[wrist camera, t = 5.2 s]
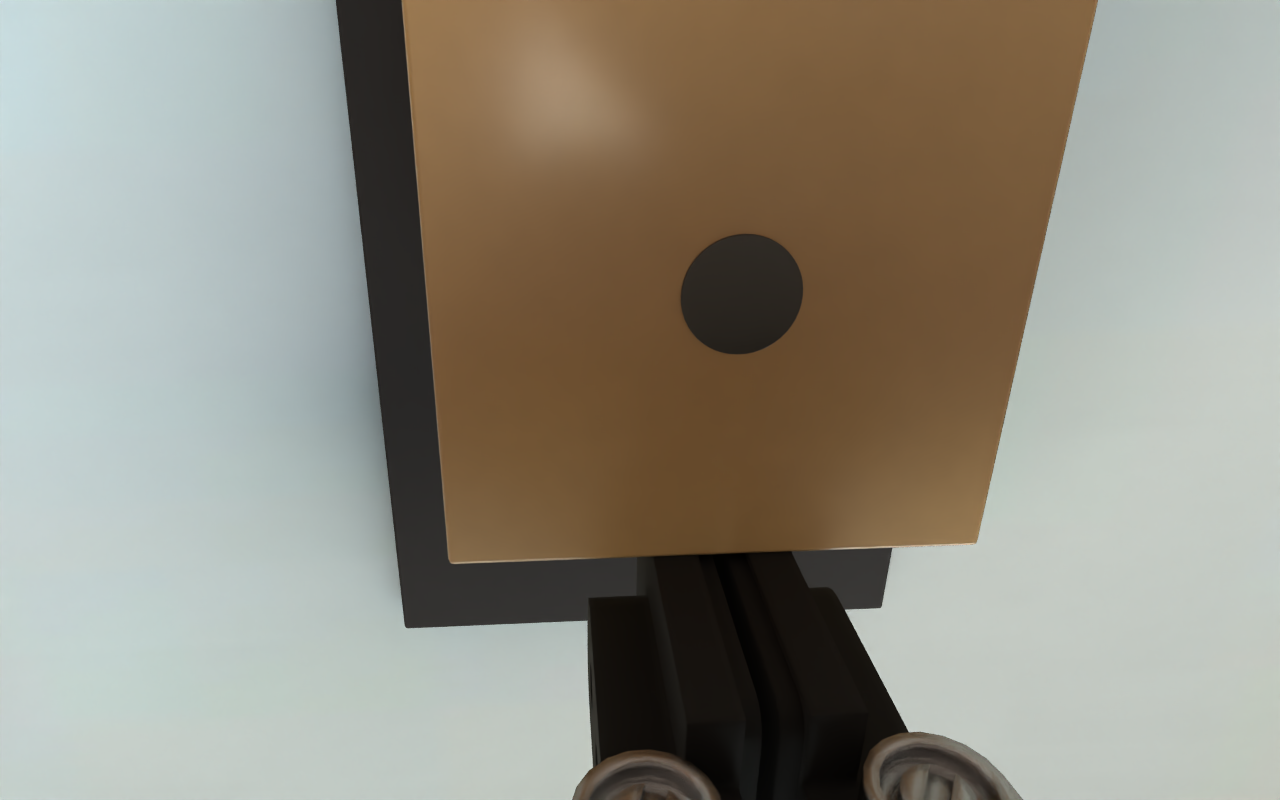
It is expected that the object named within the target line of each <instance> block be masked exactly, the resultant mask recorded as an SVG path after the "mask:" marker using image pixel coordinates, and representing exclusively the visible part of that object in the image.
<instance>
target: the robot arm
mask: <svg viewBox="0 0 1280 800" xmlns="http://www.w3.org/2000/svg"><path fill="white" fill-rule="evenodd" d="M588 681H589V705H590V723H591V739H592V756H593V768H592V769H591V770H589V771H588V773H587V774H586V775H585V777H584V778H583V779H582V781H581V782H580V783H579V784H578V786H577V787H576V790H575V793H574V796H573V799H572V800H1023V799H1022V798H1021V796H1020V795H1019V794H1018V793H1017V791H1016V790H1015V789H1014V788H1013V787H1012V785H1011V784H1010V783H1009V782H1008V780H1007V779H1006V778H1005V777H1004V775H1003V774H1002V773H1001V772H1000V771H999V770H998V769H997V768H996V767H995V766H993V765H992V764H991V763H990V762H989V761H988V760H987V759H986V758H985V757H983V756H982V755H980V754H979V753H977V752H976V751H974V750H973V749H971V748H969V747H968V746H966V745H964V744H962V743H959V742H957V741H954V740H952V739H949V738H947V737H944V736H940V735H935V734H929V733H924V732H910V733H909V732H908V730H907V728H906V726H905V724H904V722H903V720H902V718H901V717H900V715H899V713H898V711H897V709H896V707H895V705H894V703H893V701H892V699H891V698H890V696H889V694H888V692H887V690H886V688H885V686H884V684H883V682H882V680H881V678H880V677H879V675H878V673H877V671H876V669H875V667H874V665H873V663H872V661H871V659H870V657H869V656H868V654H867V652H866V650H865V648H864V646H863V644H862V642H861V640H860V638H859V637H858V635H857V633H856V631H855V629H854V627H853V625H852V623H851V621H850V619H849V617H848V616H847V614H846V612H845V610H844V608H843V606H842V604H841V602H840V600H839V598H838V597H837V595H836V594H835V592H834V591H833V590H832V589H831V588H829V587H814V588H809V587H808V585H807V583H806V581H805V579H804V577H803V575H802V573H801V571H800V569H799V566H798V564H797V562H796V560H795V558H794V556H793V554H792V552H791V551H788V552H761V553H734V554H707V555H681V556H654V557H637V583H636V596H616V597H594V598H588Z"/></svg>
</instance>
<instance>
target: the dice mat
mask: <svg viewBox="0 0 1280 800" xmlns="http://www.w3.org/2000/svg"><path fill="white" fill-rule="evenodd" d="M336 6H337V15H338V25H339V34H340V43H341V52H342V61H343V70H344V79H345V88H346V97H347V106H348V115H349V124H350V133H351V142H352V151H353V160H354V169H355V179H356V188H357V197H358V206H359V215H360V224H361V233H362V242H363V251H364V260H365V269H366V278H367V287H368V296H369V305H370V314H371V324H372V333H373V342H374V351H375V360H376V369H377V378H378V387H379V396H380V405H381V414H382V423H383V432H384V441H385V450H386V459H387V468H388V478H389V487H390V496H391V505H392V514H393V523H394V532H395V541H396V550H397V559H398V568H399V577H400V586H401V595H402V604H403V613H404V622H405V627H406V628H423V627H447V626H470V625H494V624H517V623H541V622H564V621H588V598H594V597H616V596H636V583H637V557H627V558H600V559H574V560H547V561H520V562H493V563H467V564H452V563H450V561H449V559H448V548H447V536H446V524H445V512H444V500H443V488H442V476H441V464H440V453H439V441H438V429H437V417H436V405H435V393H434V381H433V369H432V357H431V345H430V333H429V321H428V309H427V298H426V286H425V274H424V262H423V250H422V238H421V226H420V214H419V202H418V190H417V178H416V166H415V155H414V143H413V131H412V119H411V107H410V95H409V83H408V71H407V59H406V47H405V35H404V23H403V11H402V0H336ZM791 552H792V554H793V556H794V558H795V560H796V562H797V564H798V566H799V569H800V571H801V573H802V575H803V577H804V579H805V581H806V583H807V585H808V587H809V588H814V587H829V588H831V589H832V590H833V591H834V592H835V594H836V595H837V597H838V598H839V600H840V602H841V604H842V606H843V608H844V610H846V609H869V608H881V606H882V601H883V596H884V590H885V585H886V579H887V574H888V568H889V563H890V557H891V552H892V548H868V549H841V550H814V551H791Z"/></svg>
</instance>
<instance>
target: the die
mask: <svg viewBox="0 0 1280 800" xmlns="http://www.w3.org/2000/svg"><path fill="white" fill-rule="evenodd" d="M1097 3H1098V0H402V11H403V23H404V35H405V47H406V59H407V71H408V83H409V95H410V107H411V119H412V131H413V143H414V155H415V166H416V178H417V190H418V202H419V214H420V226H421V238H422V250H423V262H424V274H425V286H426V298H427V309H428V321H429V333H430V345H431V357H432V369H433V381H434V393H435V405H436V417H437V429H438V441H439V453H440V464H441V476H442V488H443V500H444V512H445V524H446V536H447V548H448V559H449V561H450V563H452V564H467V563H493V562H520V561H547V560H574V559H600V558H627V557H654V556H681V555H707V554H734V553H761V552H788V551H814V550H841V549H868V548H895V547H921V546H948V545H973V544H976V542H977V539H978V535H979V530H980V526H981V521H982V517H983V512H984V508H985V503H986V499H987V494H988V490H989V485H990V481H991V476H992V472H993V468H994V463H995V459H996V454H997V450H998V445H999V441H1000V436H1001V432H1002V427H1003V423H1004V418H1005V414H1006V409H1007V405H1008V401H1009V396H1010V392H1011V387H1012V383H1013V378H1014V374H1015V369H1016V365H1017V360H1018V356H1019V351H1020V347H1021V342H1022V338H1023V333H1024V329H1025V325H1026V320H1027V316H1028V311H1029V307H1030V302H1031V298H1032V293H1033V289H1034V284H1035V280H1036V275H1037V271H1038V266H1039V262H1040V257H1041V253H1042V249H1043V244H1044V240H1045V235H1046V231H1047V226H1048V222H1049V217H1050V213H1051V208H1052V204H1053V199H1054V195H1055V190H1056V186H1057V181H1058V177H1059V173H1060V168H1061V164H1062V159H1063V155H1064V150H1065V146H1066V141H1067V137H1068V132H1069V128H1070V123H1071V119H1072V114H1073V110H1074V105H1075V101H1076V97H1077V92H1078V88H1079V83H1080V79H1081V74H1082V70H1083V65H1084V61H1085V56H1086V52H1087V47H1088V43H1089V38H1090V34H1091V29H1092V25H1093V21H1094V16H1095V12H1096V7H1097Z"/></svg>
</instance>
